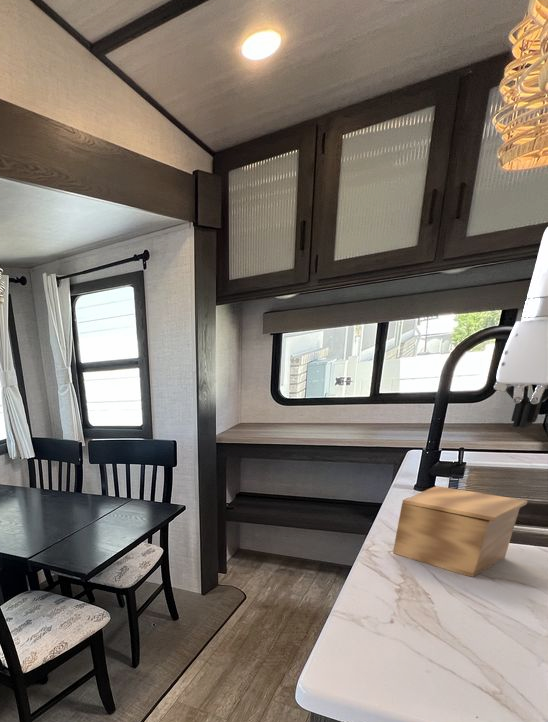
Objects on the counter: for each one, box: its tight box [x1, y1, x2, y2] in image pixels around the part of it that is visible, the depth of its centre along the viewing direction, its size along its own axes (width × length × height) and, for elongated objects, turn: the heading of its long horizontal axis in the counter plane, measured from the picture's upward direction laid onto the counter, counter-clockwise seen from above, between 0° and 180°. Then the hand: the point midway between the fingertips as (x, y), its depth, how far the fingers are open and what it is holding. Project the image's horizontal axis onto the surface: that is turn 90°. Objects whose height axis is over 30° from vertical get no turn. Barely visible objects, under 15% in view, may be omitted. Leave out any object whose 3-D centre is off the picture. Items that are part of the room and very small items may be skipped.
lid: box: [401, 485, 528, 521], centre depth 96 cm, size 16×14×1 cm
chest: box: [392, 502, 521, 578], centre depth 99 cm, size 16×14×12 cm
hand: (522, 426), depth 82 cm, fingers closed
